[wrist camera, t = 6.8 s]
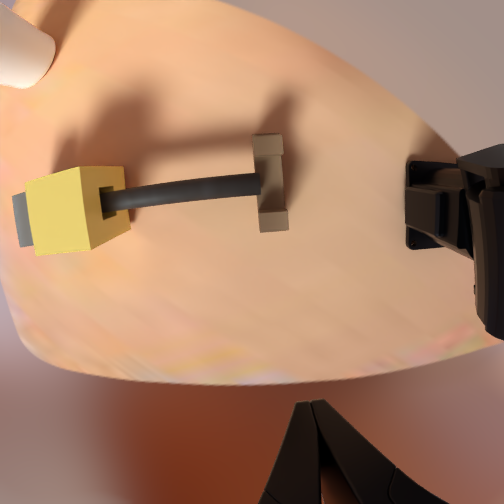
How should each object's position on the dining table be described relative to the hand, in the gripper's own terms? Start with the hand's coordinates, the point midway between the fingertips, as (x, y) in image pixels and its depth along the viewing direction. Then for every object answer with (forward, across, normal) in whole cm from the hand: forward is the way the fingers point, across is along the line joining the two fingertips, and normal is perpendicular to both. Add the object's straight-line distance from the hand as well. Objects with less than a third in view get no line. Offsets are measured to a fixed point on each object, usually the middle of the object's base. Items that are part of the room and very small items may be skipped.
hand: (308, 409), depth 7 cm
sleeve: (+13, +12, -6) cm, 18 cm away
